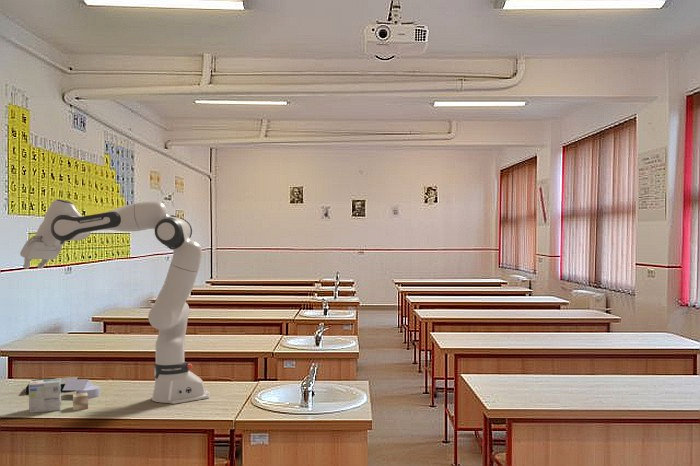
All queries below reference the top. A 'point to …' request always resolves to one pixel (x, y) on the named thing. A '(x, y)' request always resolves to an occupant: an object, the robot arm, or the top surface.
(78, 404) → the ash cube
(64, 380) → the multimeter
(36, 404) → the light bulb box
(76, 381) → the wedge on round base
